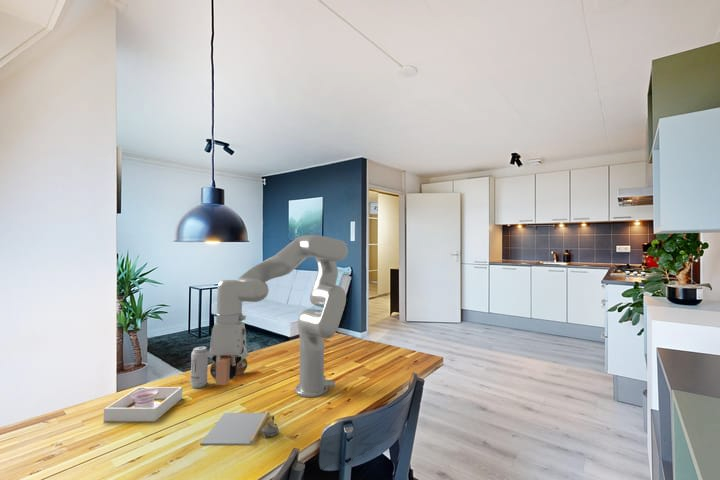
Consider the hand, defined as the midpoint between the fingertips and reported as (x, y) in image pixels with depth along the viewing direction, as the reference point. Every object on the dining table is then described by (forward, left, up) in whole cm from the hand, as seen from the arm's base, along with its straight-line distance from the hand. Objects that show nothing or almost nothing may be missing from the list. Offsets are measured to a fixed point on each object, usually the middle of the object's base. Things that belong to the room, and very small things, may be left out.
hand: (226, 376), depth 102 cm
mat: (-4, +3, -15) cm, 16 cm away
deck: (0, 0, -1) cm, 1 cm away
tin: (+14, -38, -15) cm, 44 cm away
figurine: (-16, +6, -15) cm, 23 cm away
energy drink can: (+22, -28, -15) cm, 39 cm away
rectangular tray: (+31, -9, -15) cm, 36 cm away
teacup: (+31, -8, -15) cm, 35 cm away
